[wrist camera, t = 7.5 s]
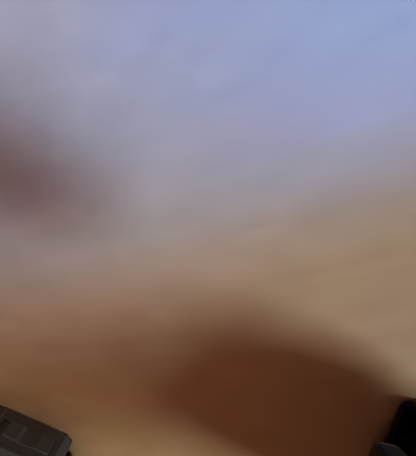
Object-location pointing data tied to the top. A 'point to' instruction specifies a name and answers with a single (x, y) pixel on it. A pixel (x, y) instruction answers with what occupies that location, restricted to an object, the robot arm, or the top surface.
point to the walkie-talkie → (29, 436)
